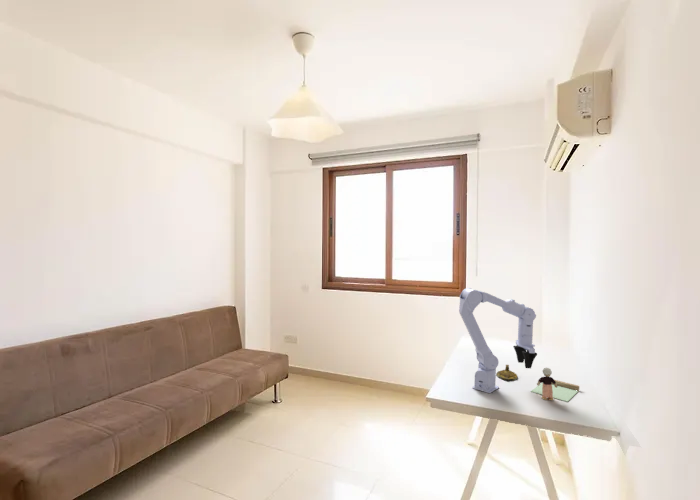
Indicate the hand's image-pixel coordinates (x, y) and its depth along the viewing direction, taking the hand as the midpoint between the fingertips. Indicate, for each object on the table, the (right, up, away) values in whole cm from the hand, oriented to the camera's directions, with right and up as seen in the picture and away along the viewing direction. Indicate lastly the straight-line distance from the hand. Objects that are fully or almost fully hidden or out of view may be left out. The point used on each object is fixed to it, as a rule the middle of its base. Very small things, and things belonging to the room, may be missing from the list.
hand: (524, 365), depth 161 cm
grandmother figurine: (+4, -11, -11) cm, 16 cm away
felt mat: (+12, -11, -3) cm, 16 cm away
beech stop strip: (+18, -11, +4) cm, 21 cm away
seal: (-1, -11, +15) cm, 19 cm away
